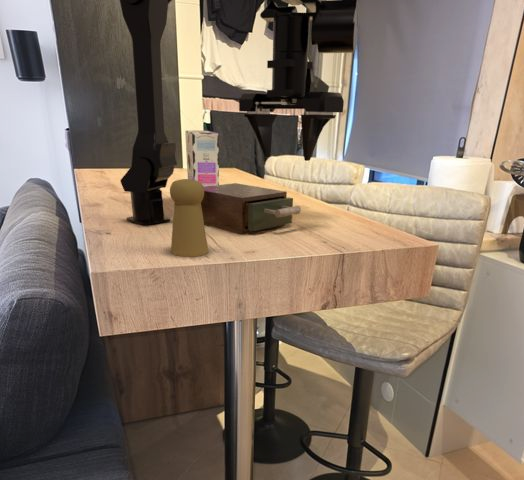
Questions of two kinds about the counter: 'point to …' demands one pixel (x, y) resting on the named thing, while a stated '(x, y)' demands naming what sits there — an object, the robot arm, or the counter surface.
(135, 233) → the counter surface
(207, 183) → the candy box
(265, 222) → the drawer
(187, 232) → the cork
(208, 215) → the cabinet
